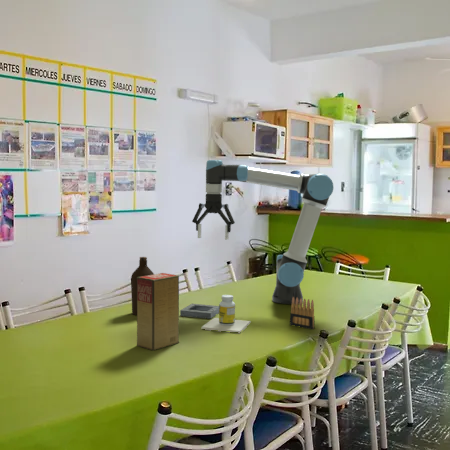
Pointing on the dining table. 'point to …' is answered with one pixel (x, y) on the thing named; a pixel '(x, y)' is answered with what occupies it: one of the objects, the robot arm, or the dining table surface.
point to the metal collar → (200, 311)
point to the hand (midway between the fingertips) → (213, 238)
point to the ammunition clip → (302, 314)
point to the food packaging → (157, 310)
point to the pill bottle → (227, 311)
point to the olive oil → (139, 272)
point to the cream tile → (236, 327)
